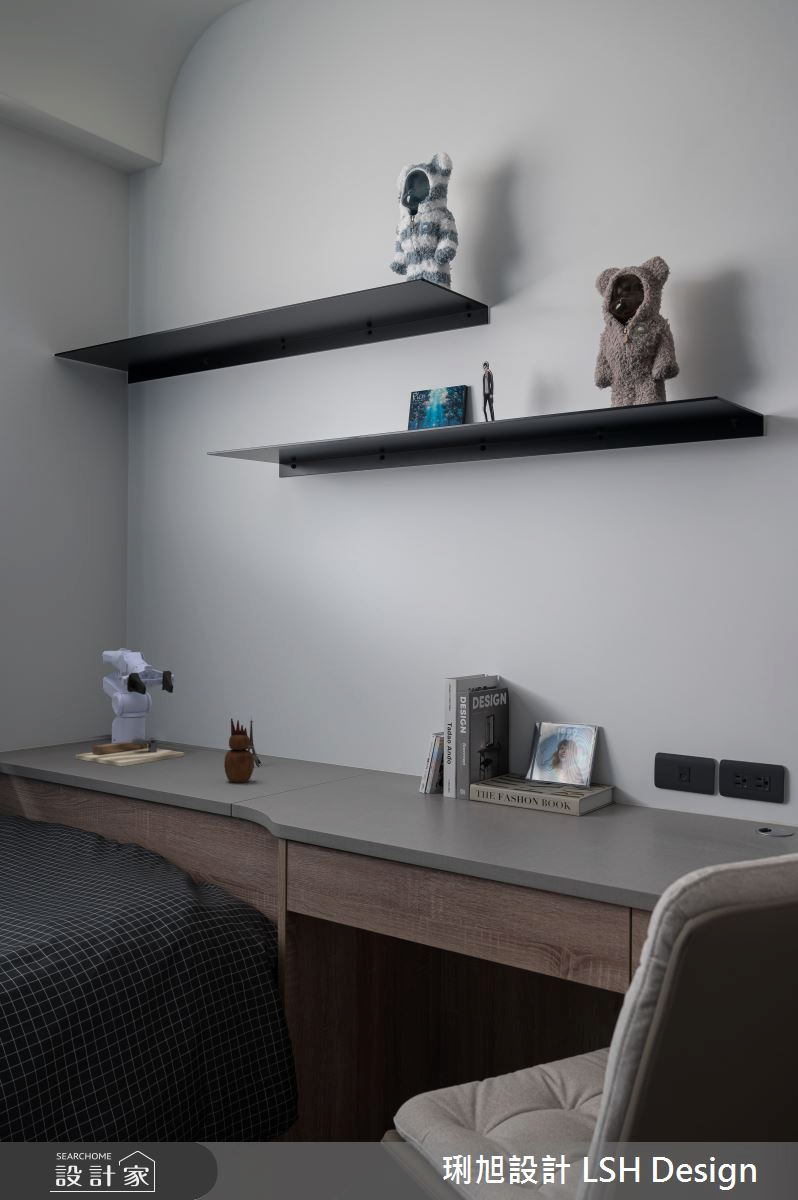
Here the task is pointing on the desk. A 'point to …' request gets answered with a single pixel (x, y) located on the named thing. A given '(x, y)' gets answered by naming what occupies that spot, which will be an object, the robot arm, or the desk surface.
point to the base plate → (130, 756)
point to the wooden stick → (117, 747)
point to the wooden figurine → (238, 756)
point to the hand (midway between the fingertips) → (158, 690)
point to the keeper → (151, 743)
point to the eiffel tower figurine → (253, 746)
